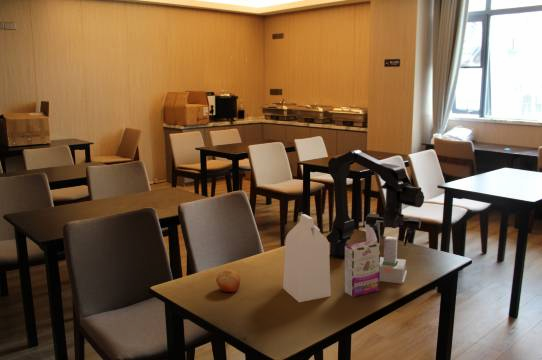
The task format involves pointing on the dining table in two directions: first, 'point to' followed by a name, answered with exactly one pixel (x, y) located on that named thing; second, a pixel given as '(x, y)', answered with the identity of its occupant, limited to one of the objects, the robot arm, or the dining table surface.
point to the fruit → (228, 280)
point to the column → (390, 251)
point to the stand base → (393, 271)
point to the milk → (306, 262)
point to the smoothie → (370, 233)
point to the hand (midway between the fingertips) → (391, 244)
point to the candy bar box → (362, 268)
